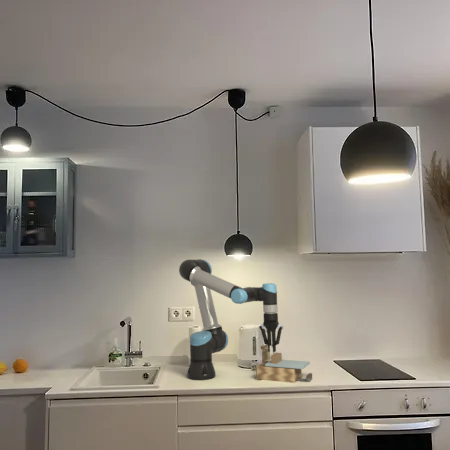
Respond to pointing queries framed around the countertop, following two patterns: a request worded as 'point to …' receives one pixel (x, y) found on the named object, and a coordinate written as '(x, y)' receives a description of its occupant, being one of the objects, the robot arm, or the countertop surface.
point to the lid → (286, 362)
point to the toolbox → (281, 374)
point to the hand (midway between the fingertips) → (272, 358)
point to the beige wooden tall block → (265, 353)
